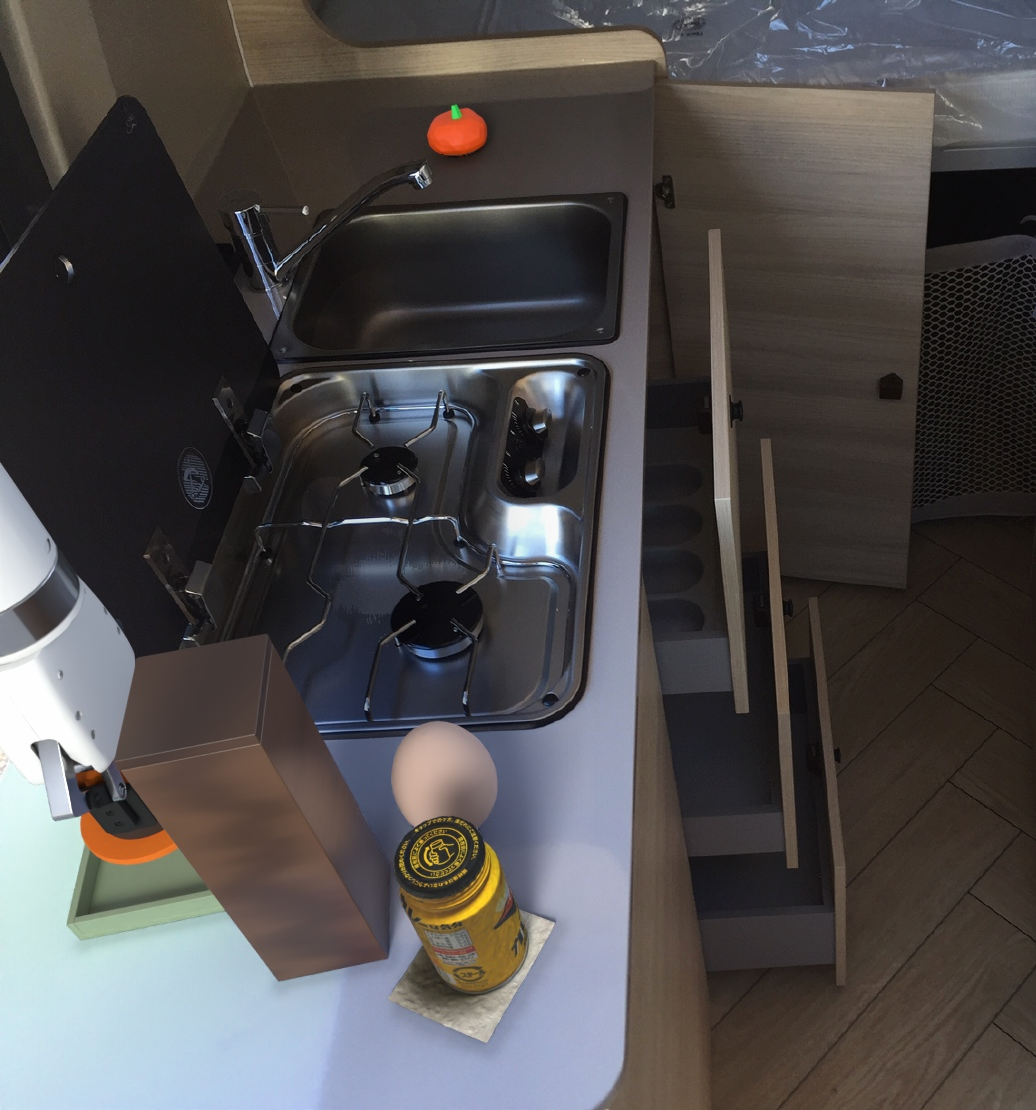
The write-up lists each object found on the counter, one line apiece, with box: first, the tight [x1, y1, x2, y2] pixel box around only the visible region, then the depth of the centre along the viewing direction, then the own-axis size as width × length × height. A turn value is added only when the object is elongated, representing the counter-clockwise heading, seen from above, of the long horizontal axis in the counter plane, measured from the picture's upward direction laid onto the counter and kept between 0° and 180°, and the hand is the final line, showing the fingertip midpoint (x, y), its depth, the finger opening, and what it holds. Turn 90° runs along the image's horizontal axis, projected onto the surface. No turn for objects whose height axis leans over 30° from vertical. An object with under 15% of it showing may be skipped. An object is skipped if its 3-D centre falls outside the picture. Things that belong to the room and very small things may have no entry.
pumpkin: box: [426, 103, 488, 158], centre depth 156 cm, size 7×8×6 cm
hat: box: [79, 757, 178, 865], centre depth 79 cm, size 9×9×8 cm
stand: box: [114, 633, 391, 982], centre depth 71 cm, size 7×7×24 cm
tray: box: [65, 843, 226, 941], centre depth 84 cm, size 12×12×2 cm
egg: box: [390, 720, 499, 829], centre depth 81 cm, size 7×7×10 cm
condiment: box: [387, 816, 556, 1044], centre depth 73 cm, size 7×8×12 cm
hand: (141, 781), depth 80 cm, fingers closed on hat, 6 cm apart
